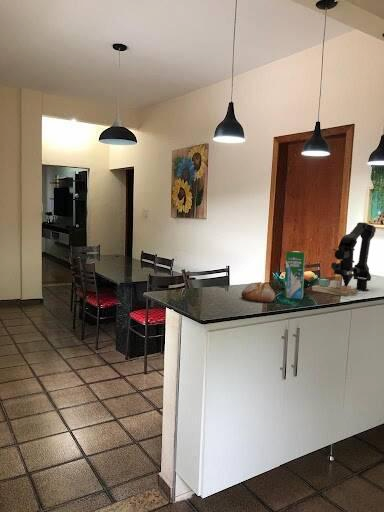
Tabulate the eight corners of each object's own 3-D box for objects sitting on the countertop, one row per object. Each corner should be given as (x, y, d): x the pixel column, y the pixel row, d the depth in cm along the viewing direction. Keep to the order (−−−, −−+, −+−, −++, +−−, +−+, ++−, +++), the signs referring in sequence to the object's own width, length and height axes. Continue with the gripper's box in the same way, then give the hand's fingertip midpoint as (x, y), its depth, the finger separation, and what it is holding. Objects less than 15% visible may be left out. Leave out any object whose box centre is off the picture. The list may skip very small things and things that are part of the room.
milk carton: (303, 296, 223) (305, 250, 221) (301, 299, 215) (304, 252, 212) (286, 295, 226) (288, 250, 224) (284, 298, 218) (286, 251, 215)
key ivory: (333, 286, 241) (333, 280, 241) (339, 287, 238) (339, 281, 238) (329, 287, 238) (329, 280, 238) (335, 288, 235) (336, 281, 235)
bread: (258, 306, 201) (258, 286, 200) (234, 299, 218) (234, 280, 217) (283, 301, 209) (283, 282, 208) (258, 294, 226) (258, 276, 225)
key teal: (322, 284, 246) (322, 278, 246) (328, 285, 243) (328, 279, 243) (318, 285, 243) (319, 279, 243) (324, 286, 240) (325, 280, 240)
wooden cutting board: (322, 288, 251) (323, 284, 250) (357, 293, 234) (357, 289, 234) (311, 290, 243) (312, 286, 242) (346, 296, 226) (347, 291, 226)
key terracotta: (344, 291, 236) (344, 285, 235) (350, 292, 233) (351, 286, 232) (340, 292, 233) (340, 285, 233) (347, 293, 230) (347, 286, 230)
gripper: (342, 256, 243) (341, 282, 245) (325, 258, 231) (324, 285, 233) (360, 258, 235) (359, 285, 237) (344, 260, 223) (342, 288, 224)
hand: (346, 285), depth 233 cm, fingers closed, pressing on key terracotta
